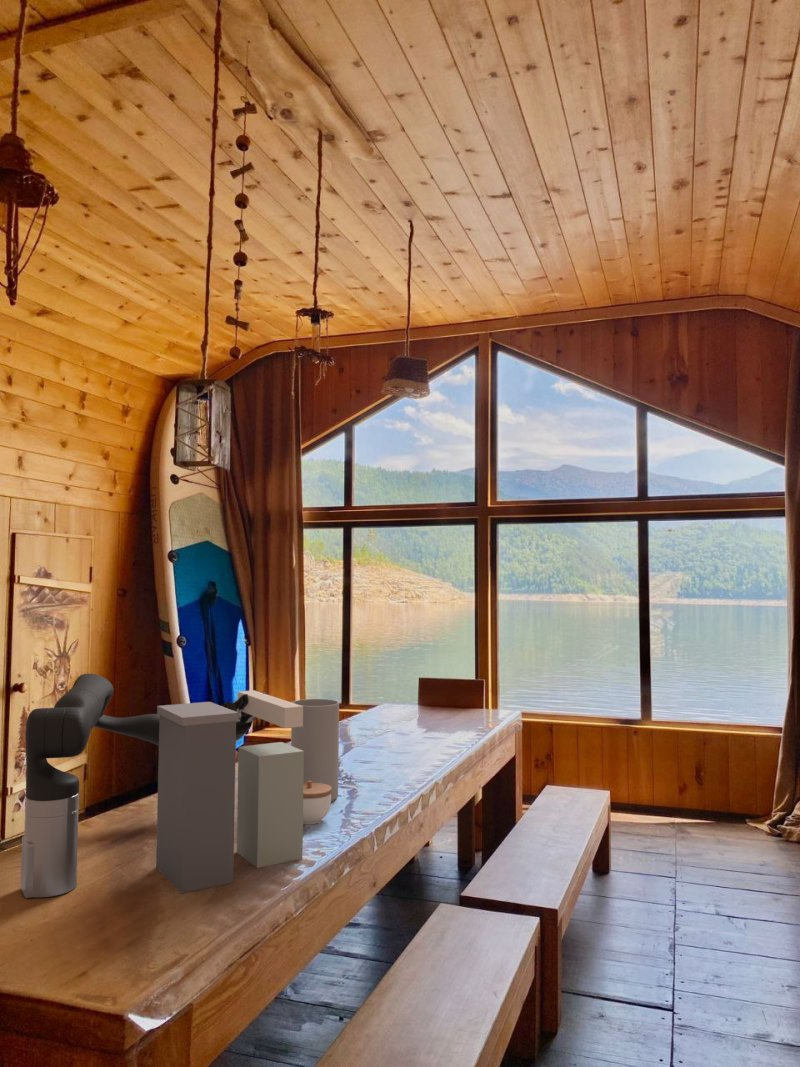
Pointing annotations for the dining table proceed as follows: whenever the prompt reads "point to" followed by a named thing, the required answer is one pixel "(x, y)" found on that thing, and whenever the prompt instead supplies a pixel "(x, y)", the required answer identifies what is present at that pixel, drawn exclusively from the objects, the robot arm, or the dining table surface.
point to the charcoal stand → (196, 795)
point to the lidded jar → (315, 802)
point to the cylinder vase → (319, 741)
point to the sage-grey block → (270, 803)
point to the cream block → (273, 709)
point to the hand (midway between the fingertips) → (256, 697)
